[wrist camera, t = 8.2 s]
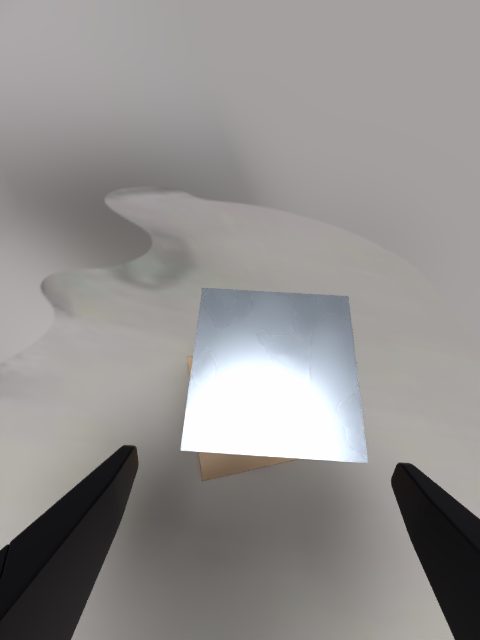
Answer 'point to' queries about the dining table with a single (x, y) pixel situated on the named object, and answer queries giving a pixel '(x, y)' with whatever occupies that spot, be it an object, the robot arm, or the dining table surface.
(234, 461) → the cork pad
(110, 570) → the dining table surface
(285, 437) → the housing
